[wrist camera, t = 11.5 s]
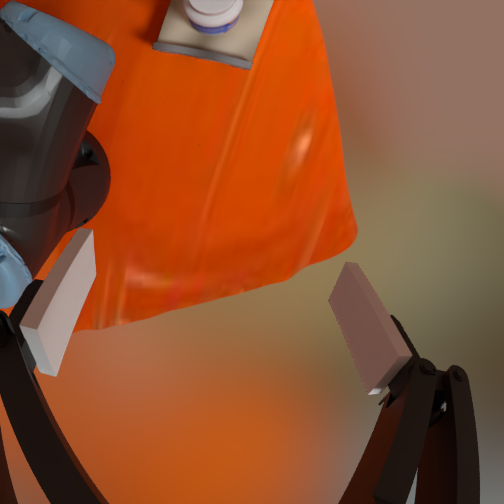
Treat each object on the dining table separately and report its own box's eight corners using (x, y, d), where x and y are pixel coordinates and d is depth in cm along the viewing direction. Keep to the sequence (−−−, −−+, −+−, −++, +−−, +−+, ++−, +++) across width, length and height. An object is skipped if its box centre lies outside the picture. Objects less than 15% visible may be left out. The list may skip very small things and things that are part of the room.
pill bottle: (236, 37, 27) (243, 23, 19) (187, 36, 27) (176, 21, 18) (240, -4, 24) (249, -31, 16) (191, -5, 24) (182, -32, 16)
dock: (159, 51, 29) (151, 48, 26) (186, -24, 24) (182, -36, 20) (246, 70, 32) (250, 69, 28) (273, -5, 27) (280, -14, 23)
